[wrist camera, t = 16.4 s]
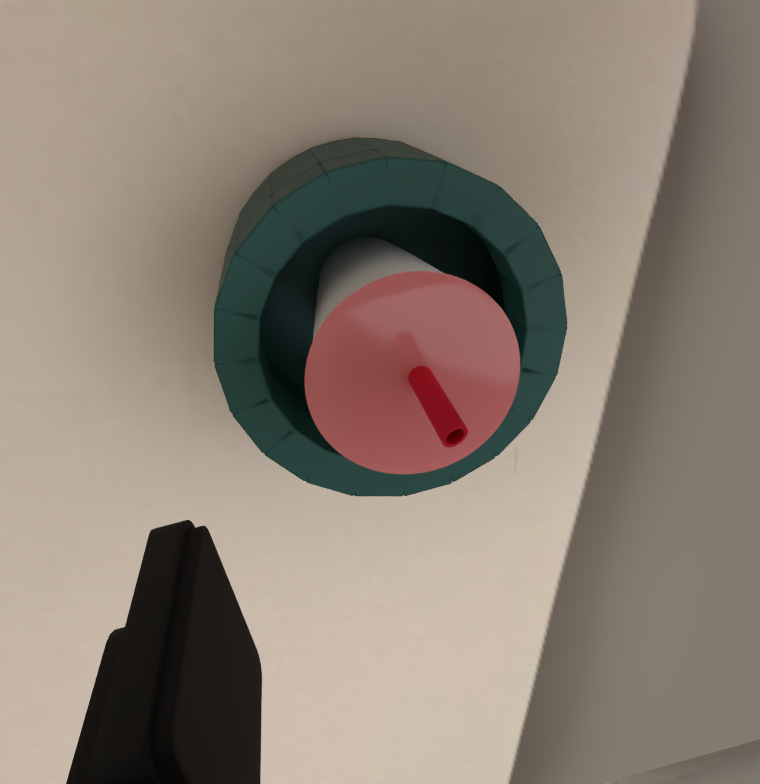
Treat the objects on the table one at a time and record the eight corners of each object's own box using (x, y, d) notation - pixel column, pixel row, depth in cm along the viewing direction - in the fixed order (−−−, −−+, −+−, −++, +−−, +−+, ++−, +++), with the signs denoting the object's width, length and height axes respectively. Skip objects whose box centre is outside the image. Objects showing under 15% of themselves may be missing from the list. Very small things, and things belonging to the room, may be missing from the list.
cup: (463, 306, 26) (606, 466, 15) (340, 379, 27) (394, 584, 16) (394, 178, 24) (504, 258, 13) (261, 259, 24) (259, 404, 13)
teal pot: (188, 176, 23) (160, 212, 17) (470, 107, 24) (545, 116, 17) (270, 429, 27) (272, 533, 21) (509, 365, 28) (581, 448, 22)
